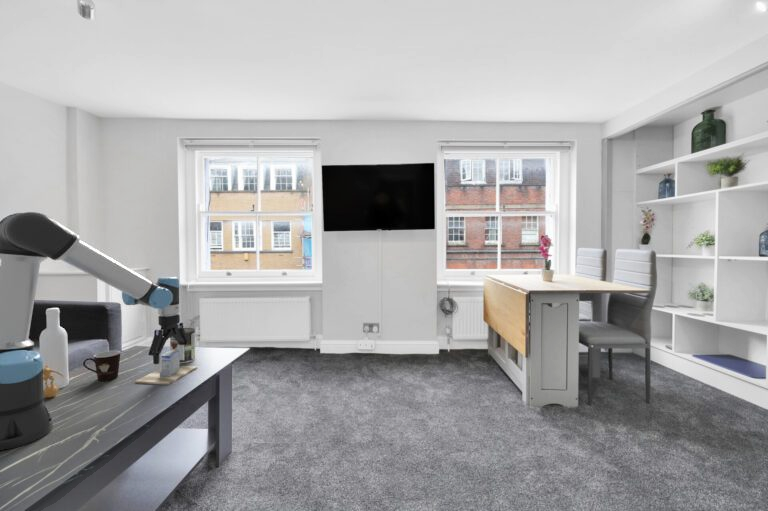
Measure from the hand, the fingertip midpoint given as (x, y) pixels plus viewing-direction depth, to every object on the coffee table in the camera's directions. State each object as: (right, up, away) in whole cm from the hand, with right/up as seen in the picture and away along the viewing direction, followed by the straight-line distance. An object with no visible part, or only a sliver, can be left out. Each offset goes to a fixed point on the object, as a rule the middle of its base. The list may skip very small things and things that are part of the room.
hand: (170, 365), depth 148 cm
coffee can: (-5, -4, +19) cm, 20 cm away
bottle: (-37, -5, -12) cm, 39 cm away
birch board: (-1, -4, 0) cm, 4 cm away
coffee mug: (-25, -4, -3) cm, 25 cm away
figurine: (-29, -5, -22) cm, 37 cm away
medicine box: (0, -4, 0) cm, 4 cm away
